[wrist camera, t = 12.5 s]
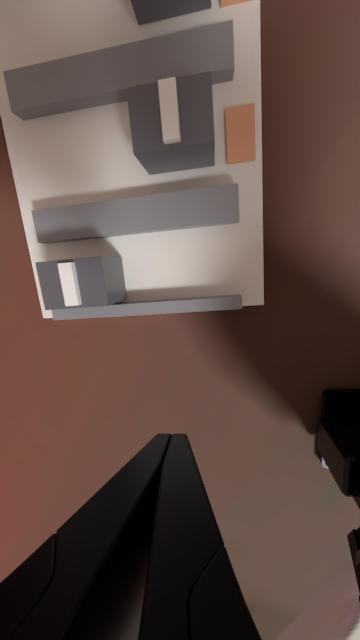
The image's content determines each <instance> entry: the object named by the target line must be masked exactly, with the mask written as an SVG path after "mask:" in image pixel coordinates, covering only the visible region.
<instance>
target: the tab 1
mask: <svg viewBox="0 0 360 640" xmlns="http://www.w3.org/2000/svg"><path fill="white" fill-rule="evenodd" d="M35 263H36V268H37V273H38V277H39V282H40V287H41V292H42V297H43V301H44V306H45V310H55V309H70V308H85V307H100V306H109V305H112V304H114V303H116V302H119V301H121V300H123V299H126V298H127V294H126V287H125V279H124V272H123V264H122V257H114V256H96V257H86V258H75V259H65V260H55V261H45V262H35Z"/></svg>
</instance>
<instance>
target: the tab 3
mask: <svg viewBox="0 0 360 640" xmlns="http://www.w3.org/2000/svg"><path fill="white" fill-rule="evenodd" d="M126 93H127V101H128V110H129V119H130V128H131V137H132V145H133V154H134V155H135V157H136V158H137V159H138V161H139V162H140V163H141V165H142V166H143V167H144V169H145V170H146V171H147V173H148V174H149V175H154V174H161V173H168V172H175V171H182V170H189V169H196V168H203V167H210V166H215V136H214V116H213V95H212V75H211V71H207V72H202V73H197V74H192V75H187V76H182V77H177V78H175V77H171V78H166V79H161V80H158V81H157V82H152V83H147V84H142V85H137V86H132V87H127V88H126Z"/></svg>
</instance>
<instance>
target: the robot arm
mask: <svg viewBox="0 0 360 640" xmlns="http://www.w3.org/2000/svg"><path fill="white" fill-rule="evenodd" d="M332 395H333V398H331V399H328V398H329V397H330V396H332ZM317 448H318V450H319V452H320V462H321V464H322V466H323V467H324V468H326V469H329V470H330V472H331V474H332V476H333V477H334V479H335V481H336V483H337V485H338V487H339V488H340V490H341V492H342V493H343V494H344V495H345V496H348V497H353V499H354V500H355V502H356V504H357V506H358V507H359V509H360V389H330V390H326V391H325V392H324V393H323V396H322V417H320V418H319V420H318V437H317ZM347 537H348V542H349V546H350V551H351V556H352V560H353V565H354V569H355V574H356V578H357V583H358V588H359V592H360V527H359V528H358V529H357V530H355V529H353V530H352V531H351V532H350V533H349V534H348V535H347ZM359 601H360V595H359ZM0 640H261V637H260V635H259V633H258V630H257V628H256V626H255V623H254V621H253V619H252V616H251V614H250V612H249V609H248V607H247V605H246V602H245V600H244V597H243V594H242V592H241V589H240V586H239V584H238V581H237V578H236V576H235V573H234V570H233V568H232V565H231V562H230V559H229V556H228V553H227V550H226V548H225V547H224V542H223V539H222V536H221V533H220V530H219V527H218V525H217V522H216V519H215V516H214V513H213V510H212V507H211V504H210V501H209V498H208V495H207V492H206V489H205V487H204V484H203V481H202V478H201V475H200V472H199V469H198V466H197V463H196V460H195V457H194V454H193V451H192V449H191V446H190V443H189V440H188V437H187V435H186V434H173V435H171V434H157V435H156V436H155V437H154V438H153V439H152V440H151V441H150V442H148V443H147V444H146V445H145V446H144V447H143V448H142V449H141V450H140V451H139V452H138V453H137V454H136V455H135V456H134V457H133V458H132V459H131V460H130V461H129V462H128V463H127V464H126V465H125V466H123V467H122V468H121V469H120V470H119V471H118V472H117V473H116V474H115V475H114V476H113V477H112V478H111V479H110V480H109V481H108V482H107V483H106V484H105V485H104V486H103V487H102V488H101V489H99V490H98V491H97V492H96V493H95V494H94V495H93V496H92V497H91V498H90V499H89V500H88V501H87V502H86V503H85V504H84V505H83V506H82V507H81V508H80V509H79V510H78V511H77V512H76V513H74V514H73V515H72V516H71V517H70V518H69V519H68V520H67V521H66V522H65V523H64V524H63V525H62V526H61V527H60V528H59V529H58V530H57V532H56V534H52V535H51V536H50V537H49V538H48V539H47V540H46V541H45V542H44V543H43V544H42V545H41V546H40V547H39V548H38V549H37V550H36V551H35V552H34V553H32V554H31V555H30V556H29V557H28V558H27V559H26V560H25V561H24V562H23V563H22V564H21V565H19V566H18V567H17V568H16V569H15V570H14V571H13V572H12V573H11V574H10V575H9V576H8V577H6V578H5V579H4V580H3V581H2V582H1V583H0Z"/></svg>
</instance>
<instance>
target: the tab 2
mask: <svg viewBox="0 0 360 640" xmlns="http://www.w3.org/2000/svg"><path fill="white" fill-rule="evenodd" d="M131 3H132V7H133V10H134V13H135V16H136V19H137V22H138V25H142V24H146V23H150V22H155V21H159V20H163V19H167V18H172V17H176V16H180V15H184V14H189V13H193V12H197V11H201V10H206V9H210V8H211V0H131Z"/></svg>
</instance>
